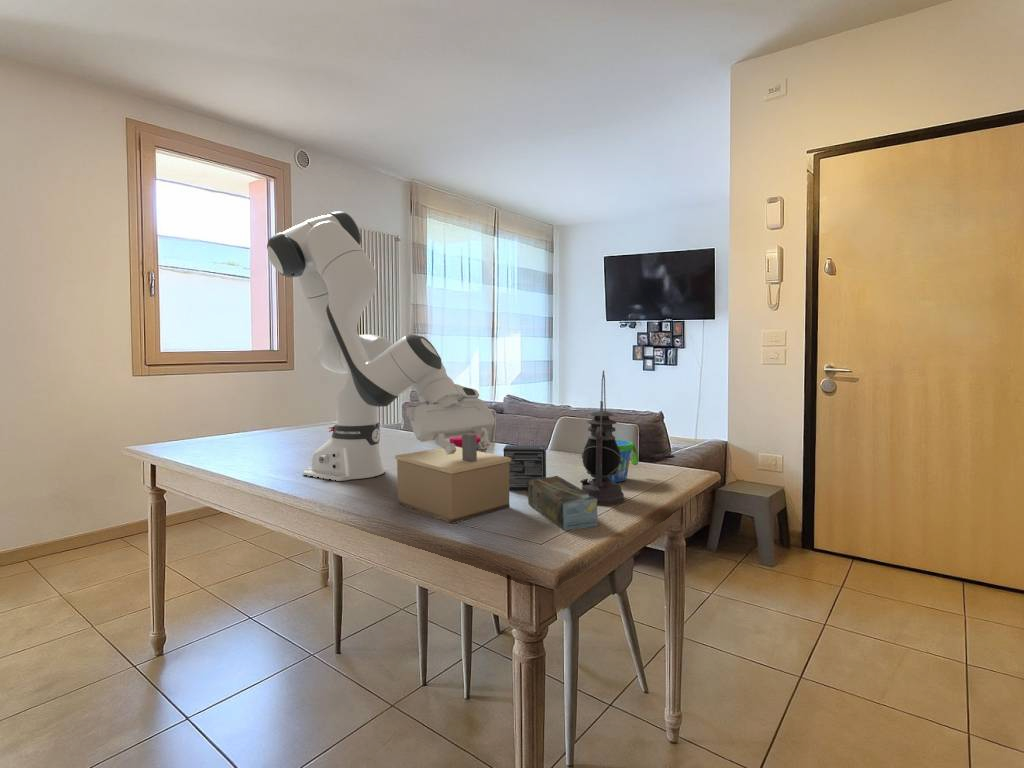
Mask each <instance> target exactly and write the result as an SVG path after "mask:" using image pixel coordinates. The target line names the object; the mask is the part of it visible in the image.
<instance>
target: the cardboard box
mask: <svg viewBox="0 0 1024 768" xmlns="http://www.w3.org/2000/svg"><path fill="white" fill-rule="evenodd" d="M396 471H397V473H396V474H397V476H396V477H397V504H398V503H400V504H399V505H401V504H402V506H404V505H405V506H404V507H406V506H408V507H407V508H409V507H411V508H410V509H412V508H413V509H412V510H415V509H416V510H415V511H417V510H419V511H418V512H420V511H421V512H420V513H423V512H424V513H423V514H425V513H426V515H428V514H429V515H428V516H431V515H432V516H431V517H433V516H434V518H436V517H437V519H439V518H440V519H439V520H441V519H442V520H441V521H444V520H445V521H444V522H447V521H448V522H447V523H449V522H450V523H449V524H454V523H453V522H456V523H458V522H457V521H459V522H462V521H461V520H463V521H465V519H466V520H469V519H468V518H470V519H472V517H473V518H476V517H480V516H483V515H487V514H490V513H494V512H497V511H500V510H501V511H502V510H504V509H507V508H510V490H509V462H506V463H502V464H497V465H492V466H487V467H482V468H478V469H473V470H468V471H463V472H458V473H454V474H449V473H446V472H442V471H438V470H434V469H431V468H427V467H423V466H419V465H416V464H412V463H408V462H405V461H401V460H397V459H396ZM486 513H487V514H486Z"/></svg>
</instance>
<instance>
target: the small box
mask: <svg viewBox="0 0 1024 768" xmlns="http://www.w3.org/2000/svg"><path fill="white" fill-rule="evenodd" d="M546 447H547V446H546V445H545V444H544V445H543V444H534V445H533V444H506V445H505V446H504V447H503V456H504V457H509V458H511V462H509V491H528V480H529V479H538V478H543V477H547V450H546V449H547V448H546Z"/></svg>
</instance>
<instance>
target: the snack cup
mask: <svg viewBox="0 0 1024 768" xmlns="http://www.w3.org/2000/svg"><path fill="white" fill-rule="evenodd" d="M615 441H616V444H617V446H618V448H619V451H620V454H621V460H622V463H621V464H620V466H619V468H618V469H617V471H616V474H615V475H613V476H612V477H611V478H608V479H610V480H611V482H614V483H621V482H625V481H626V480H627V478H628V472H629V469H630V468H629V466H630V461H631V465H632V466H638V464H639V454H638V453H639V452H638V449H637V447H636V445H635V444H634V443H633V441H629V440H623V439H615ZM631 454H632V457H631Z"/></svg>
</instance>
